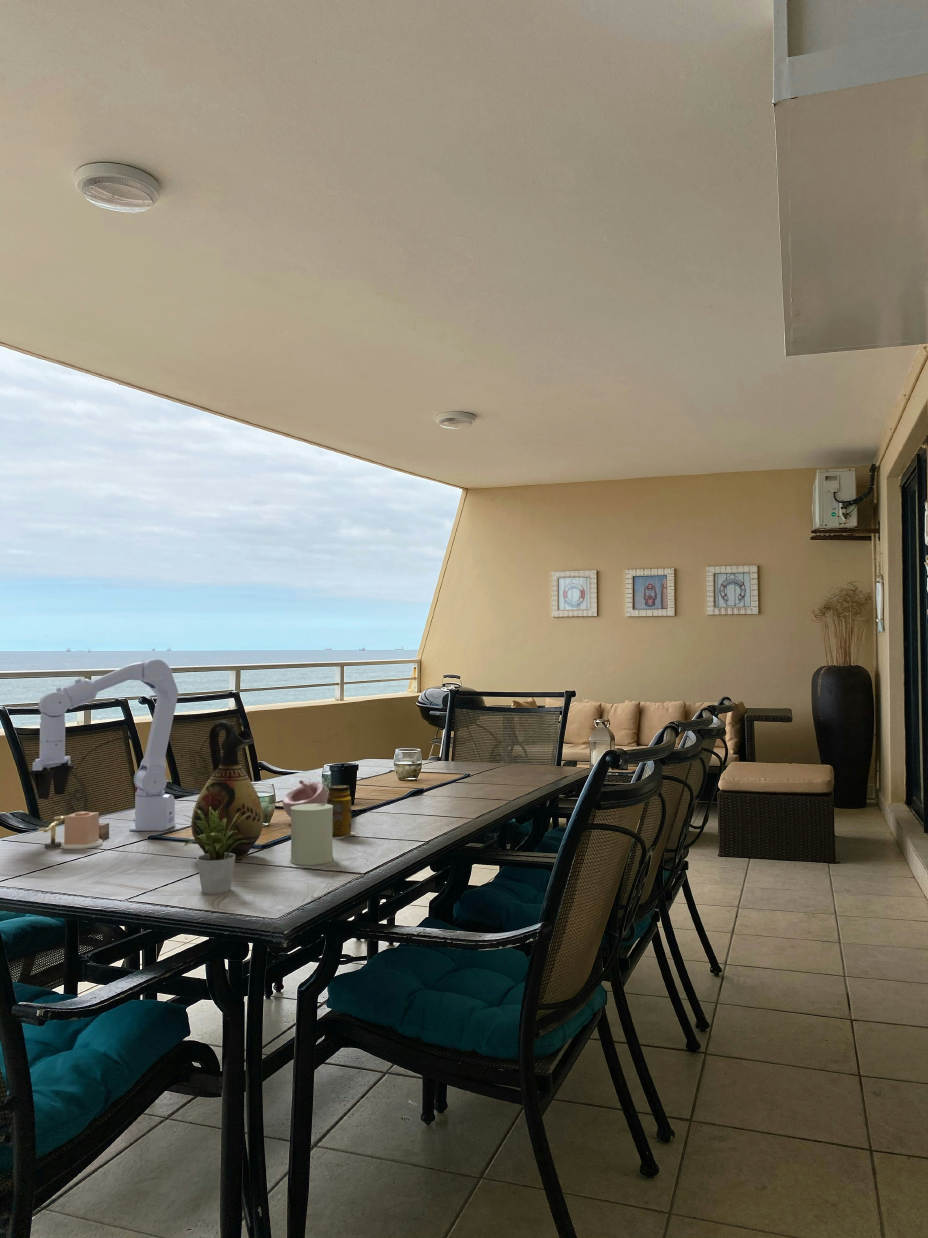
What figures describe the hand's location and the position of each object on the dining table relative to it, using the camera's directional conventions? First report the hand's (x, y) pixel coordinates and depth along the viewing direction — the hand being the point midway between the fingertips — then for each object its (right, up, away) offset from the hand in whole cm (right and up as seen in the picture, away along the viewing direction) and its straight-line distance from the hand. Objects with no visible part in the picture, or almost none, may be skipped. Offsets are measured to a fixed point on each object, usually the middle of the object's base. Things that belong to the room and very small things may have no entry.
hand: (51, 796), depth 216 cm
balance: (+5, -10, -10) cm, 15 cm away
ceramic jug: (+49, -9, -23) cm, 55 cm away
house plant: (+54, -7, -51) cm, 75 cm away
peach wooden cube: (+11, -9, -9) cm, 17 cm away
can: (+69, -9, -27) cm, 74 cm away
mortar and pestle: (+59, -11, +20) cm, 63 cm away
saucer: (+11, -10, -9) cm, 17 cm away
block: (+12, -10, 0) cm, 16 cm away
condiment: (+70, -10, +1) cm, 71 cm away
